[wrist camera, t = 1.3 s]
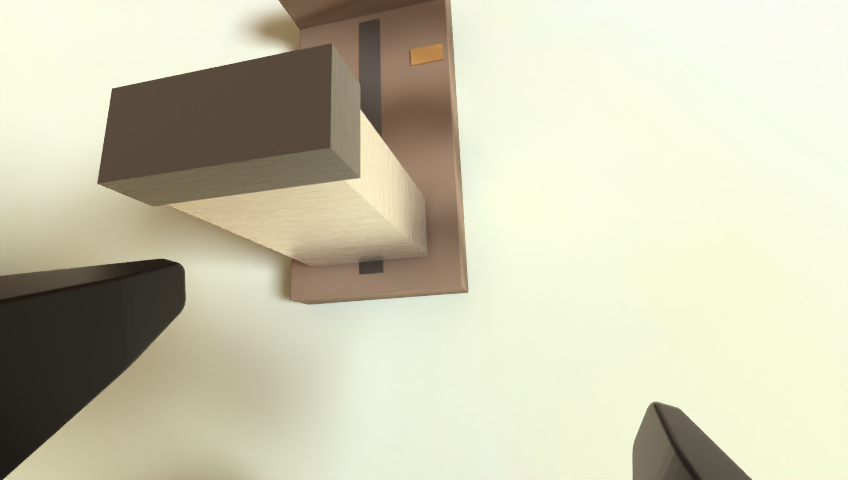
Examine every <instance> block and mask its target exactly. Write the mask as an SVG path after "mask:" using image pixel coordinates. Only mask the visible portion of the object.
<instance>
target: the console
mask: <svg viewBox="0 0 848 480" xmlns="http://www.w3.org/2000/svg"><path fill="white" fill-rule="evenodd" d="M279 1H280V3H281V4H282V5H283V7H284V8H285V10H286V11H287V12H288V14H289V15H290V16H291V18H292V19H293V20H294V22H295V23H296V24H297V26H298V27H299V29H300V50H301V49H306V48H311V47H315V46H320V45H325V44H330V43H332V44H333V45H334V47H335V48H336V50H337V51H338V53H339V54H340V56H341V57H342V59H343V60H344V61H345V63H346V64H347V66H348V67H349V69H350V70H351V72H352V73H353V75H354V76H355V78H356V79H357V81H358V82H359V84H360V109H361V111H362V112H363V113H364V115H365V116H366V118H367V119H368V120H369V122H370V123H371V124H372V126H373V127H374V129H375V130H376V131H377V133H378V134H379V135H380V137H381V138H382V139H383V141H384V142H385V144H386V145H387V146H388V148H389V149H390V150H391V152H392V153H393V154H394V156H395V157H396V159H397V160H398V161H399V163H400V164H401V165H402V167H403V168H404V170H405V171H406V172H407V174H408V175H409V176H410V178H411V179H412V180H413V182H414V183H415V185H416V186H417V187H418V189H419V190H420V191H421V193H422V194H423V195H424V197H425V209H426V235H427V256H424V257H413V258H403V259H392V260H381V261H371V262H360V263H350V264H339V265H328V266H318V267H312V266H310V265H307V264H305V263H303V262H300V261H298V260H296V259H293V258H292V266H291V292H290V300H293V301H297V302H301V303H305V304H321V303H334V302H348V301H361V300H374V299H387V298H401V297H414V296H427V295H441V294H454V293H467V292H468V279H467V263H466V246H465V230H464V214H463V197H462V181H461V165H460V148H459V132H458V116H457V100H456V83H455V67H454V51H453V34H452V18H451V2H450V0H279Z"/></svg>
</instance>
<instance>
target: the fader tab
mask: <svg viewBox="0 0 848 480" xmlns="http://www.w3.org/2000/svg"><path fill="white" fill-rule="evenodd" d="M97 184H100V185H102V186H104V187H107V188H109V189H112V190H114V191H117V192H119V193H122V194H124V195H127V196H129V197H131V198H134V199H136V200H139V201H141V202H144V203H146V204H149V205H151V206H159V205H169V206H171V207H174V208H176V209H178V210H181V211H183V212H185V213H188V214H190V215H192V216H195V217H197V218H199V219H202V220H204V221H206V222H209V223H211V224H213V225H216V226H218V227H220V228H223V229H225V230H228V231H230V232H232V233H235V234H237V235H239V236H242V237H244V238H246V239H249V240H251V241H253V242H256V243H258V244H260V245H263V246H265V247H267V248H270V249H272V250H274V251H277V252H279V253H281V254H284V255H286V256H289V257H291V258H293V259H296V260H298V261H300V262H303V263H305V264H307V265H310V266H312V267H318V266H328V265H339V264H350V263H360V262H371V261H381V260H392V259H403V258H413V257H424V256H427V235H426V209H425V197H424V195H423V194H422V193H421V191H420V190H419V189H418V187H417V186H416V185H415V183H414V182H413V180H412V179H411V178H410V176H409V175H408V174H407V172H406V171H405V170H404V168H403V167H402V165H401V164H400V163H399V161H398V160H397V159H396V157H395V156H394V154H393V153H392V152H391V150H390V149H389V148H388V146H387V145H386V144H385V142H384V141H383V139H382V138H381V137H380V135H379V134H378V133H377V131H376V130H375V129H374V127H373V126H372V124H371V123H370V122H369V120H368V119H367V118H366V116H365V115H364V113H363V112H362V111H361V109H360V84H359V82H358V81H357V79H356V78H355V76H354V75H353V73H352V72H351V70H350V69H349V67H348V66H347V64H346V63H345V61H344V60H343V59H342V57H341V56H340V54H339V53H338V51H337V50H336V48H335V47H334V45H333V44H332V43H330V44H325V45H320V46H315V47H311V48H306V49H301V50H296V51H291V52H287V53H282V54H277V55H272V56H267V57H262V58H258V59H253V60H248V61H243V62H238V63H233V64H229V65H224V66H219V67H214V68H209V69H205V70H200V71H195V72H190V73H185V74H180V75H176V76H171V77H166V78H161V79H156V80H152V81H147V82H142V83H137V84H132V85H127V86H123V87H118V88H113V89H112V93H111V99H110V106H109V112H108V119H107V125H106V131H105V138H104V144H103V151H102V157H101V164H100V170H99V177H98V183H97Z"/></svg>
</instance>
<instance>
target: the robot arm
mask: <svg viewBox="0 0 848 480" xmlns="http://www.w3.org/2000/svg"><path fill="white" fill-rule="evenodd" d="M185 301H186V294H185V271H184V268H183V266H182V265H181V264H180V263H177V262H173V261H170V260H167V259H154V260H144V261H135V262H126V263H116V264H107V265H98V266H88V267H79V268H70V269H61V270H51V271H42V272H33V273H23V274H14V275H5V276H0V480H3V479H4V478H5V477H6V476H7V475H9V474H10V473H11V472H12V471H13V470H14V469H15V468H16V467H18V466H19V465H20V464H21V463H22V462H23V461H24V460H25V459H27V458H28V457H29V456H30V455H31V454H32V453H33V452H34V451H36V450H37V449H38V448H39V447H40V446H41V445H42V444H43V443H45V442H46V441H47V440H48V439H49V438H50V437H51V436H52V435H54V434H55V433H56V432H57V431H58V430H59V429H60V428H61V427H63V426H64V425H65V424H66V423H67V422H68V421H69V420H70V419H72V418H73V417H74V416H75V415H76V414H77V413H78V412H79V411H81V410H82V409H83V408H84V407H85V406H86V405H87V404H88V403H90V402H91V401H92V400H93V399H94V398H95V397H96V396H97V395H99V394H100V393H101V392H102V391H103V390H104V389H105V388H106V387H108V386H109V385H110V384H111V383H112V382H113V381H114V380H115V379H117V378H118V377H119V376H120V375H121V374H122V373H123V372H124V371H125V370H126V369H127V368H128V367H129V366H130V365H131V364H132V363H133V362H134V361H135V360H136V359H137V358H138V357H139V356H140V355H141V354H142V353H143V352H144V351H145V350H146V349H147V348H148V347H149V346H150V345H151V343H152V342H153V341H154V340H155V339H156V338H157V337H158V336H159V335H160V334H161V333H162V332H163V331H164V330H165V329H166V328H167V326H168V325H169V324H170V323H171V322H172V321H173V320H174V319H175V318H176V317H177V316H178V315H179V314H180V312H181V311H182V310H183V308H184V305H185ZM632 457H633V480H752V479H751V478H750V477H749V476H748V475H747V474H746V473H745V472H744V471H743V470H742V469H741V468H740V467H739V466H738V465H737V464H736V463H735V462H734V461H732V460H731V459H730V458H729V457H728V456H727V455H726V454H725V453H724V452H723V451H722V450H721V449H720V448H719V447H718V446H717V445H716V444H715V443H714V442H713V441H712V440H711V439H710V438H709V437H708V436H707V435H706V434H705V433H704V432H703V431H702V430H701V429H700V428H699V427H698V426H697V425H696V424H695V423H694V422H693V421H692V420H691V419H690V418H689V417H688V416H687V415H686V414H685V413H684V412H683V411H681V410H680V409H679V408H677V407H673V406H670V405H666V404H663V403H659V402H652V403H651V404H650V405H649V407H648V408H647V411H646V413H645V416H644V418H643V421H642V423H641V426H640V428H639V431H638V433H637V436H636V438H635V441H634V445H633V455H632Z"/></svg>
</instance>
